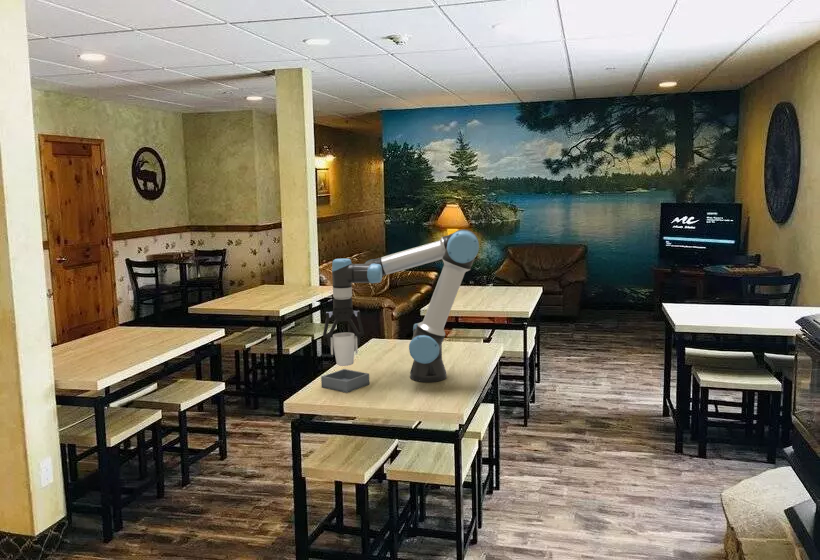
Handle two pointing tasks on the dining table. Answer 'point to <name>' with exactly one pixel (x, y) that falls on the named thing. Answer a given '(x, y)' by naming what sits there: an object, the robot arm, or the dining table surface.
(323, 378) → the bin
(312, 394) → the dining table surface
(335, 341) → the cup
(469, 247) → the robot arm
